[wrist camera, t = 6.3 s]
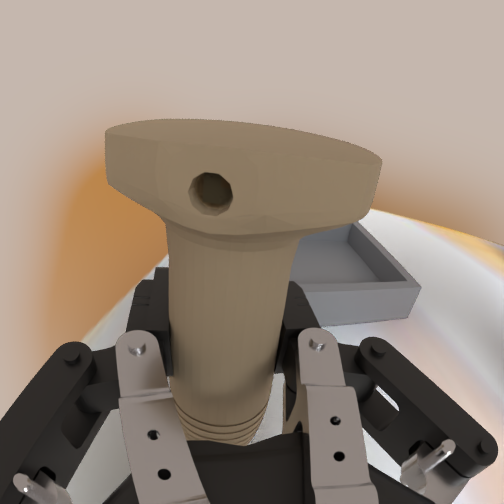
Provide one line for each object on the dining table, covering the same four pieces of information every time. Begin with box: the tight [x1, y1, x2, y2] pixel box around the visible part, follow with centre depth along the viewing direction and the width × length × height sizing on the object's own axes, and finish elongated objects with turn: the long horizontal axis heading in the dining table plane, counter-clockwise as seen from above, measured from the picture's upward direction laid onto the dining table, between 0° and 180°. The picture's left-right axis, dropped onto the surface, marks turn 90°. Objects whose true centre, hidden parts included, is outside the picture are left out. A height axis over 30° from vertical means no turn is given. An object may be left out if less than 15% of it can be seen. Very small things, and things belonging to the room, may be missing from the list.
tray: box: [289, 221, 421, 327], centre depth 29 cm, size 16×14×4 cm
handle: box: [105, 119, 382, 446], centre depth 10 cm, size 5×6×15 cm
